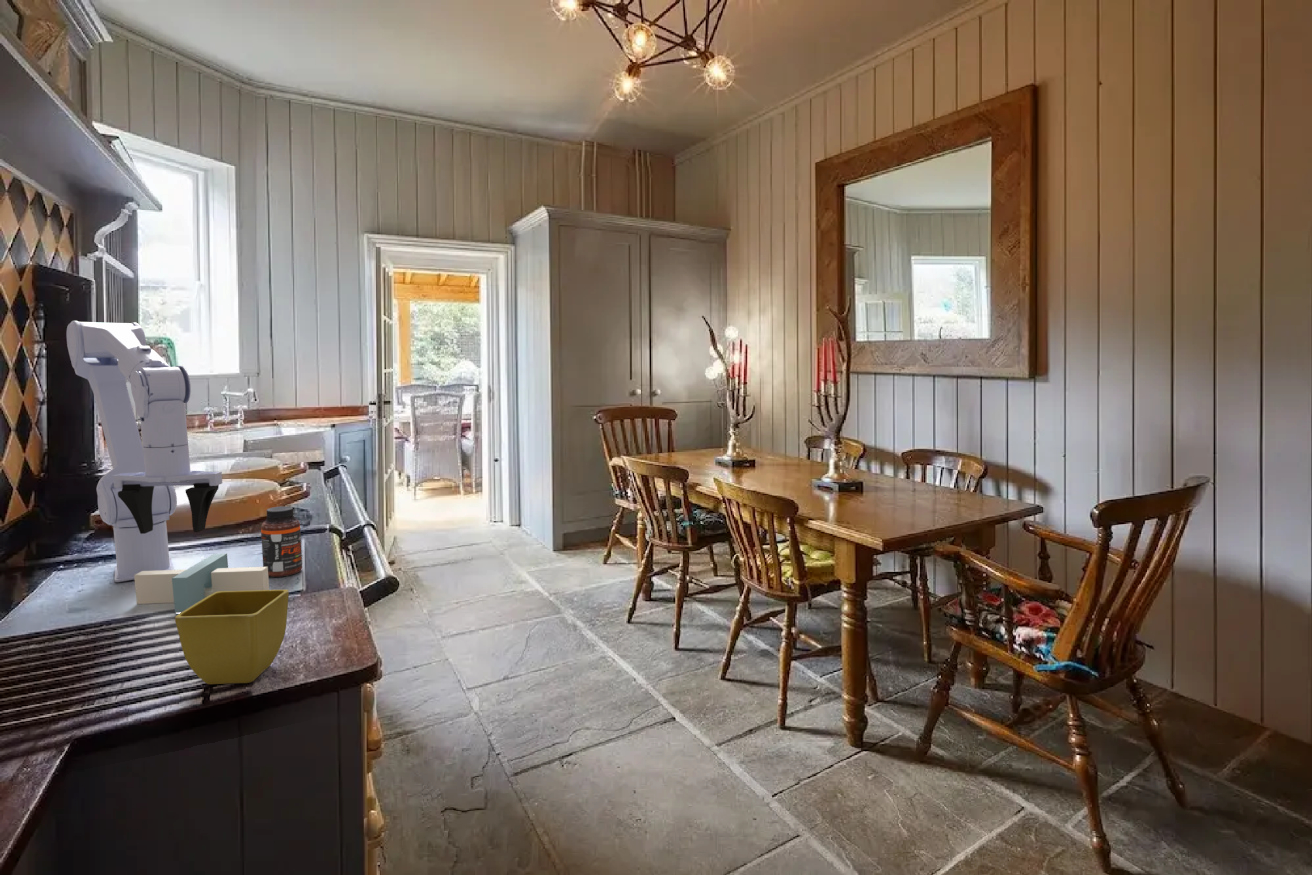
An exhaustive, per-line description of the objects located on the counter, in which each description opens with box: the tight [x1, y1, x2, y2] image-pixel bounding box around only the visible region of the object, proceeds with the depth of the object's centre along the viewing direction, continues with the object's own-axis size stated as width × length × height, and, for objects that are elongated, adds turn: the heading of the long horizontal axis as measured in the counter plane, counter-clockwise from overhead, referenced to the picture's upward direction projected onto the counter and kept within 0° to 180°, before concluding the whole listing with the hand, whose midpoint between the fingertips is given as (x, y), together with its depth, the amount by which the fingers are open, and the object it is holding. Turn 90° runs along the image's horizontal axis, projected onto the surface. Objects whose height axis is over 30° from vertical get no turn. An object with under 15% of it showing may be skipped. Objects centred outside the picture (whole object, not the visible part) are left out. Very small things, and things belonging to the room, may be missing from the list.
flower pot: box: [174, 589, 290, 685], centre depth 81 cm, size 9×9×9 cm
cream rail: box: [134, 566, 270, 605], centre depth 105 cm, size 18×2×4 cm, turn 98°
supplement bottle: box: [260, 505, 303, 578], centre depth 118 cm, size 6×6×11 cm
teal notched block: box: [172, 553, 229, 613], centre depth 105 cm, size 12×2×6 cm, turn 8°
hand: (173, 531), depth 107 cm, fingers open, 7 cm apart
